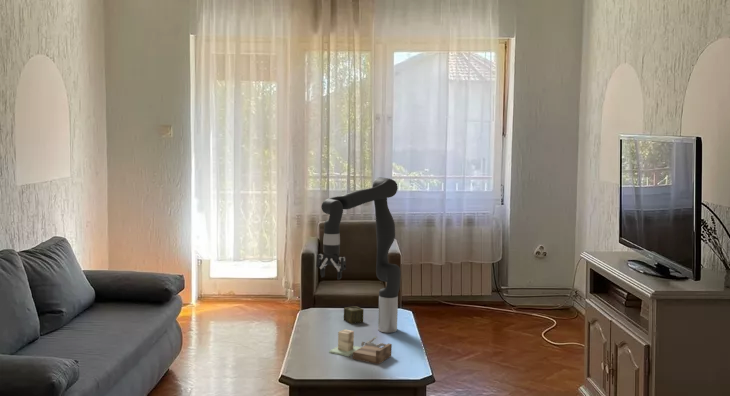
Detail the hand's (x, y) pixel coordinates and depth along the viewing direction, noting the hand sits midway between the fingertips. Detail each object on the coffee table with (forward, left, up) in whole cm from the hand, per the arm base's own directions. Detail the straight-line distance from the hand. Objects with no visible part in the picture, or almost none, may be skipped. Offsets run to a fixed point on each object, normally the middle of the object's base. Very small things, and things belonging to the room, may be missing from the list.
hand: (330, 278), depth 331 cm
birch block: (+7, +12, -29) cm, 33 cm away
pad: (+7, +12, -30) cm, 33 cm away
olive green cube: (-37, -8, -31) cm, 49 cm away
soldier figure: (-1, +23, -30) cm, 38 cm away
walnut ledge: (+9, +26, -30) cm, 41 cm away
